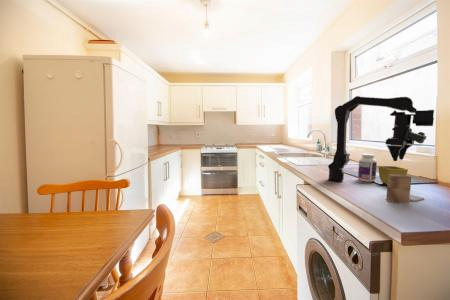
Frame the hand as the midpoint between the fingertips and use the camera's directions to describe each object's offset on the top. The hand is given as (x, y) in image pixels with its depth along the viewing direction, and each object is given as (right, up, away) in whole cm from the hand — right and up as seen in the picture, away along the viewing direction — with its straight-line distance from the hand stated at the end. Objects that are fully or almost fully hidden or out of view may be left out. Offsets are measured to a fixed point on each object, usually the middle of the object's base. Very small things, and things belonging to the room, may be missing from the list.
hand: (398, 160), depth 101 cm
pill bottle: (-2, -12, +19) cm, 23 cm away
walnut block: (-12, -15, -15) cm, 24 cm away
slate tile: (-5, -15, -11) cm, 19 cm away
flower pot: (+4, -13, +10) cm, 17 cm away
